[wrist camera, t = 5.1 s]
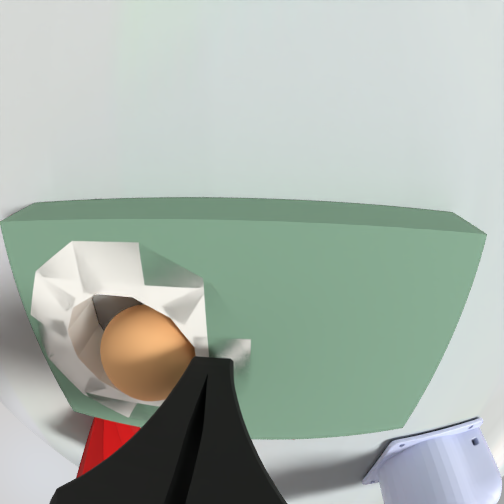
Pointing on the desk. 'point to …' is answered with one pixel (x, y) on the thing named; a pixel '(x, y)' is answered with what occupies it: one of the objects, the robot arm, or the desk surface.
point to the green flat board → (254, 300)
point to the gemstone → (104, 442)
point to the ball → (144, 353)
